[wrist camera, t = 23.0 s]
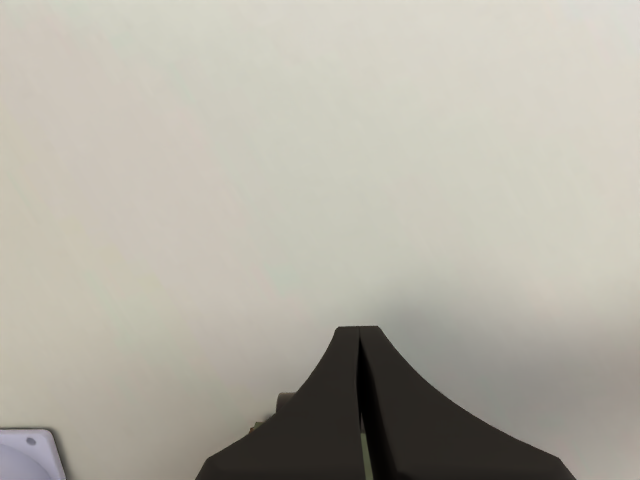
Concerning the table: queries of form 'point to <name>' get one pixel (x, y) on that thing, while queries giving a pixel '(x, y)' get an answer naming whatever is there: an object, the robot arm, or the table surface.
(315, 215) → the table surface
